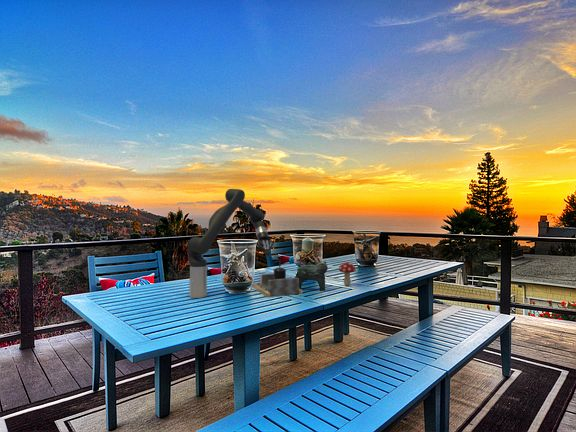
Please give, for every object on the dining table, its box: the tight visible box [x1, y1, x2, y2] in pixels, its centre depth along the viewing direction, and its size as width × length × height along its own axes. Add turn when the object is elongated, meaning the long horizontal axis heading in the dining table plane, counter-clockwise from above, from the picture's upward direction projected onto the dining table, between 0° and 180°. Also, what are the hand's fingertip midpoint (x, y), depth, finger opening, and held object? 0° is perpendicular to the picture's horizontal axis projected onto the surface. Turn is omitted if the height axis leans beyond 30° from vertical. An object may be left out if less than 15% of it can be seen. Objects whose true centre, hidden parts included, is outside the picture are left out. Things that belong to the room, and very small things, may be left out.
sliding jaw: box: [259, 272, 287, 290], centre depth 214 cm, size 16×3×9 cm, turn 113°
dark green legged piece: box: [294, 257, 328, 292], centre depth 209 cm, size 20×6×20 cm, turn 84°
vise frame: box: [251, 277, 303, 298], centre depth 210 cm, size 22×31×9 cm
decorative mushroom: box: [338, 262, 357, 287], centre depth 221 cm, size 11×11×15 cm
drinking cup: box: [272, 258, 287, 279], centre depth 203 cm, size 8×8×20 cm
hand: (268, 254), depth 222 cm, fingers closed
